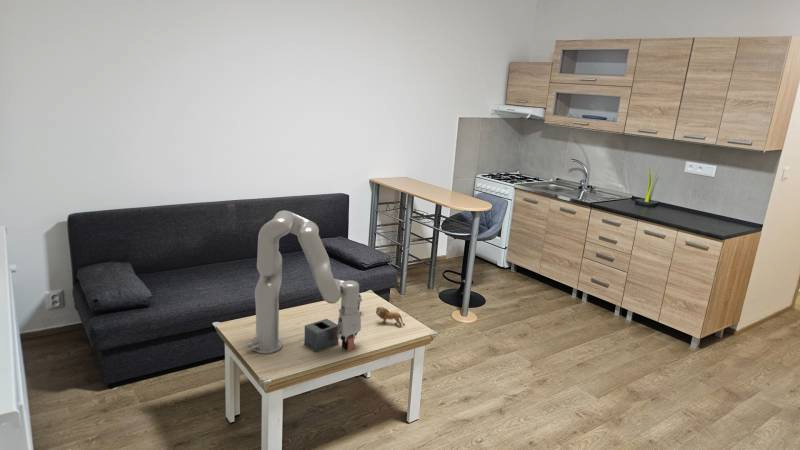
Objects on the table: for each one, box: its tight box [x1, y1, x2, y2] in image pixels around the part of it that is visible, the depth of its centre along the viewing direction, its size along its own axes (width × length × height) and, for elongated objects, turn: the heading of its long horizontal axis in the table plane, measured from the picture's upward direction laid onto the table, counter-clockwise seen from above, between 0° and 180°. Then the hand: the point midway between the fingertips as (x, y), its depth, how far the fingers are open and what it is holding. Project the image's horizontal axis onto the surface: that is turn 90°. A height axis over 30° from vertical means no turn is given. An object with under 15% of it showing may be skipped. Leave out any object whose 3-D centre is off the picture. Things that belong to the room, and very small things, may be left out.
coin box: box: [303, 318, 340, 353], centre depth 233 cm, size 12×9×9 cm
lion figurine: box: [375, 306, 406, 328], centre depth 257 cm, size 15×5×9 cm, turn 87°
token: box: [344, 335, 355, 352], centre depth 231 cm, size 3×4×6 cm, turn 45°
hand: (347, 347), depth 232 cm, fingers closed on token, 2 cm apart
